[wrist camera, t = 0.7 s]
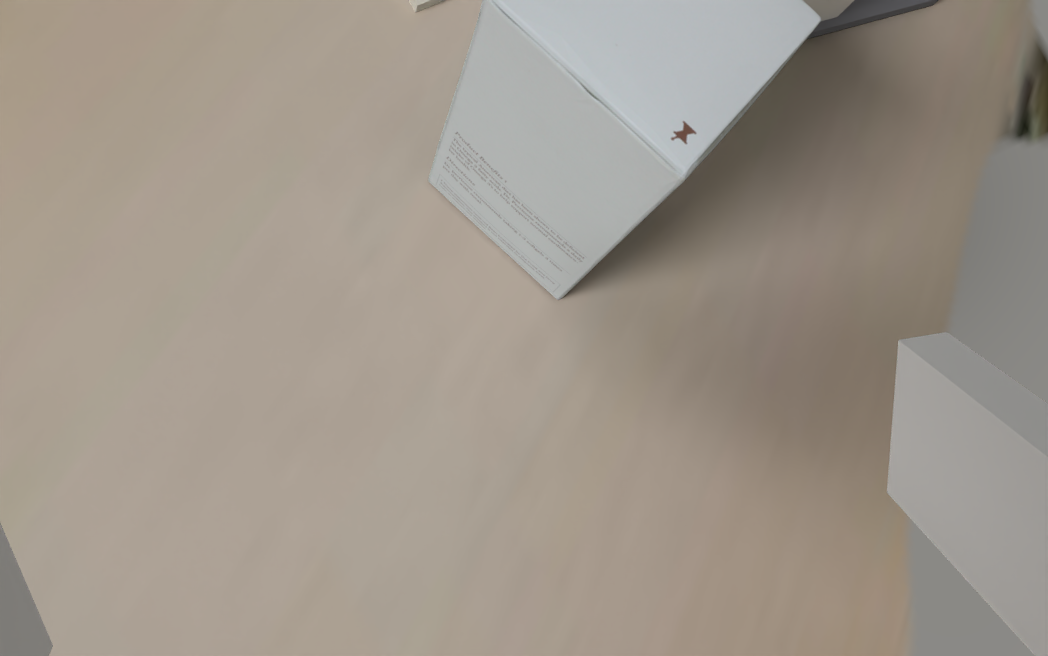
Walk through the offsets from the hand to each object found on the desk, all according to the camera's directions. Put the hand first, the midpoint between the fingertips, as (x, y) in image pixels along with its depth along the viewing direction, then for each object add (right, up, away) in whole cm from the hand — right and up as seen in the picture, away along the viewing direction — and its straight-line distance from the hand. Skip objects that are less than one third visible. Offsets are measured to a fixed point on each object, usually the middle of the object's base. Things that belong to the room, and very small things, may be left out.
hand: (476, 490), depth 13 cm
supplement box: (+2, +8, +24) cm, 25 cm away
